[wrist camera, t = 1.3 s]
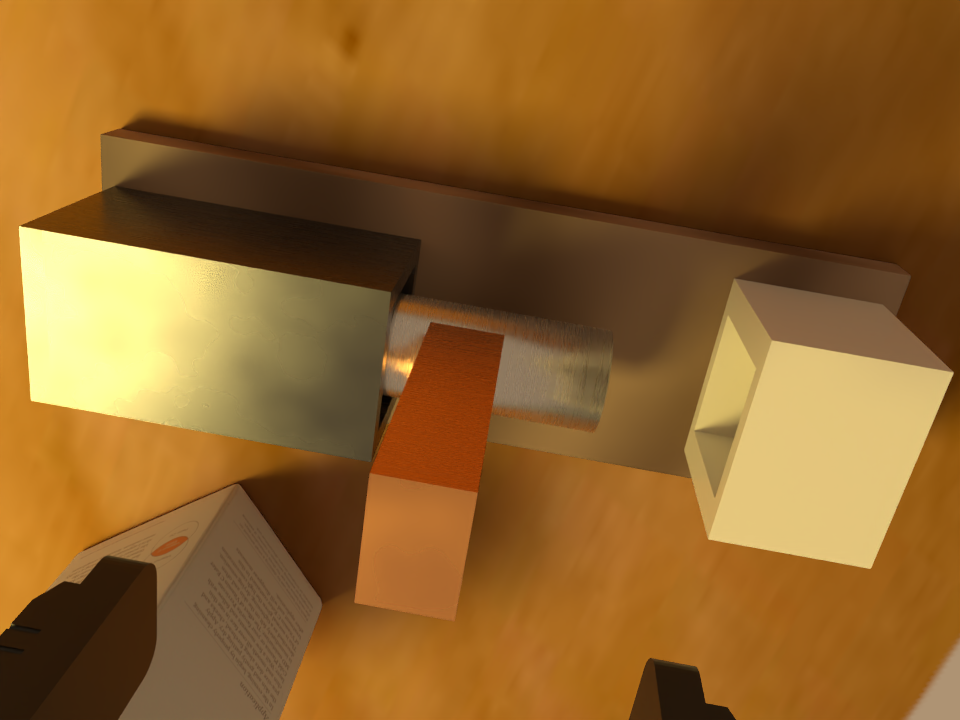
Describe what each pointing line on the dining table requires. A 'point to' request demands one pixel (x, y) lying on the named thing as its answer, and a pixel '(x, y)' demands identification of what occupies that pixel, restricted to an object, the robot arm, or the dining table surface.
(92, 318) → the dark hollow rectangular block
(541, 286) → the walnut board
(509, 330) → the sliding bolt
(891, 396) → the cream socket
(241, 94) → the dining table surface
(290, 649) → the small box
